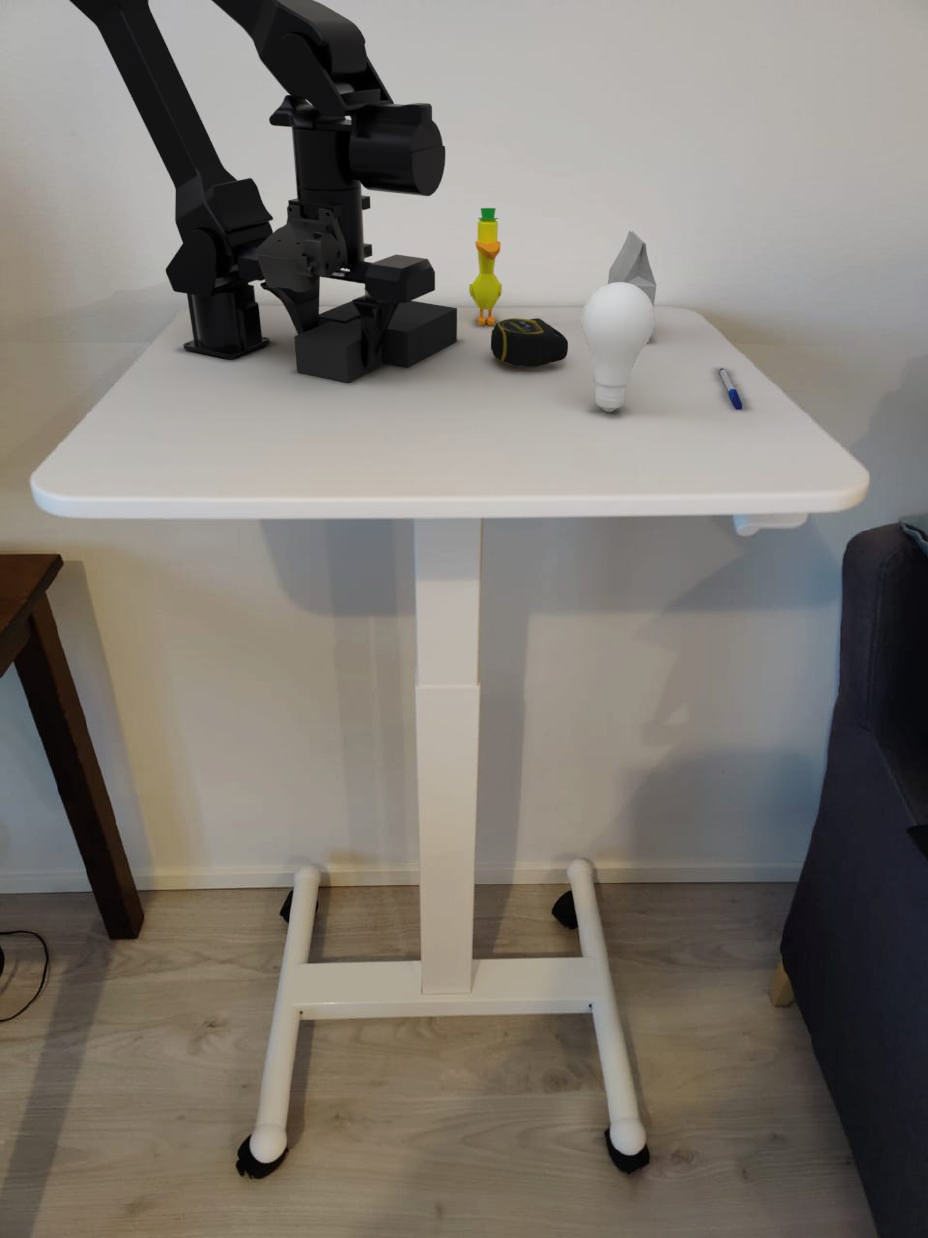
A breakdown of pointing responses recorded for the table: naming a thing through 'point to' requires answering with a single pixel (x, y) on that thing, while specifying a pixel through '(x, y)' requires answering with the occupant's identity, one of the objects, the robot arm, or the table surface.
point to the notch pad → (407, 330)
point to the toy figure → (486, 266)
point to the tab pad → (333, 352)
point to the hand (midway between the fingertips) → (339, 360)
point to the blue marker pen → (731, 390)
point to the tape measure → (527, 342)
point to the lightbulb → (616, 337)
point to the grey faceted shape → (634, 267)
